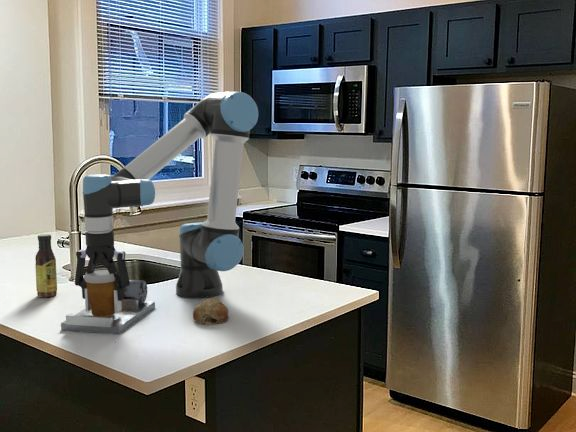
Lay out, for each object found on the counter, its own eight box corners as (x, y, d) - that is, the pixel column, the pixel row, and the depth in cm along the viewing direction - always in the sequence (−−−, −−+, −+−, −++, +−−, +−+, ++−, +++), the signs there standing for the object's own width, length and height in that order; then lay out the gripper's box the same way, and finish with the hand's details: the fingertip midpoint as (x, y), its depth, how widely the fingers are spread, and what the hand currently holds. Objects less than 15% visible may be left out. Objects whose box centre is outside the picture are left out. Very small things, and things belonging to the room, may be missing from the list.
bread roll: (195, 337, 182) (196, 315, 177) (190, 312, 190) (191, 291, 186) (230, 333, 185) (231, 312, 180) (223, 309, 193) (225, 288, 188)
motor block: (155, 307, 197) (154, 278, 196) (118, 335, 173) (116, 302, 171) (103, 304, 201) (102, 275, 199) (59, 331, 176) (57, 298, 175)
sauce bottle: (50, 298, 207) (46, 237, 203) (33, 297, 208) (28, 236, 205) (61, 293, 213) (58, 233, 210) (44, 292, 214) (40, 232, 211)
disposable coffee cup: (119, 306, 189) (117, 266, 187) (123, 316, 180) (121, 274, 178) (84, 310, 185) (82, 269, 183) (87, 320, 176) (84, 277, 174)
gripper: (140, 229, 180) (144, 308, 184) (71, 227, 184) (76, 304, 188) (129, 234, 173) (132, 317, 177) (57, 232, 177) (62, 312, 181)
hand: (103, 310), depth 182 cm, fingers closed on disposable coffee cup, 8 cm apart
